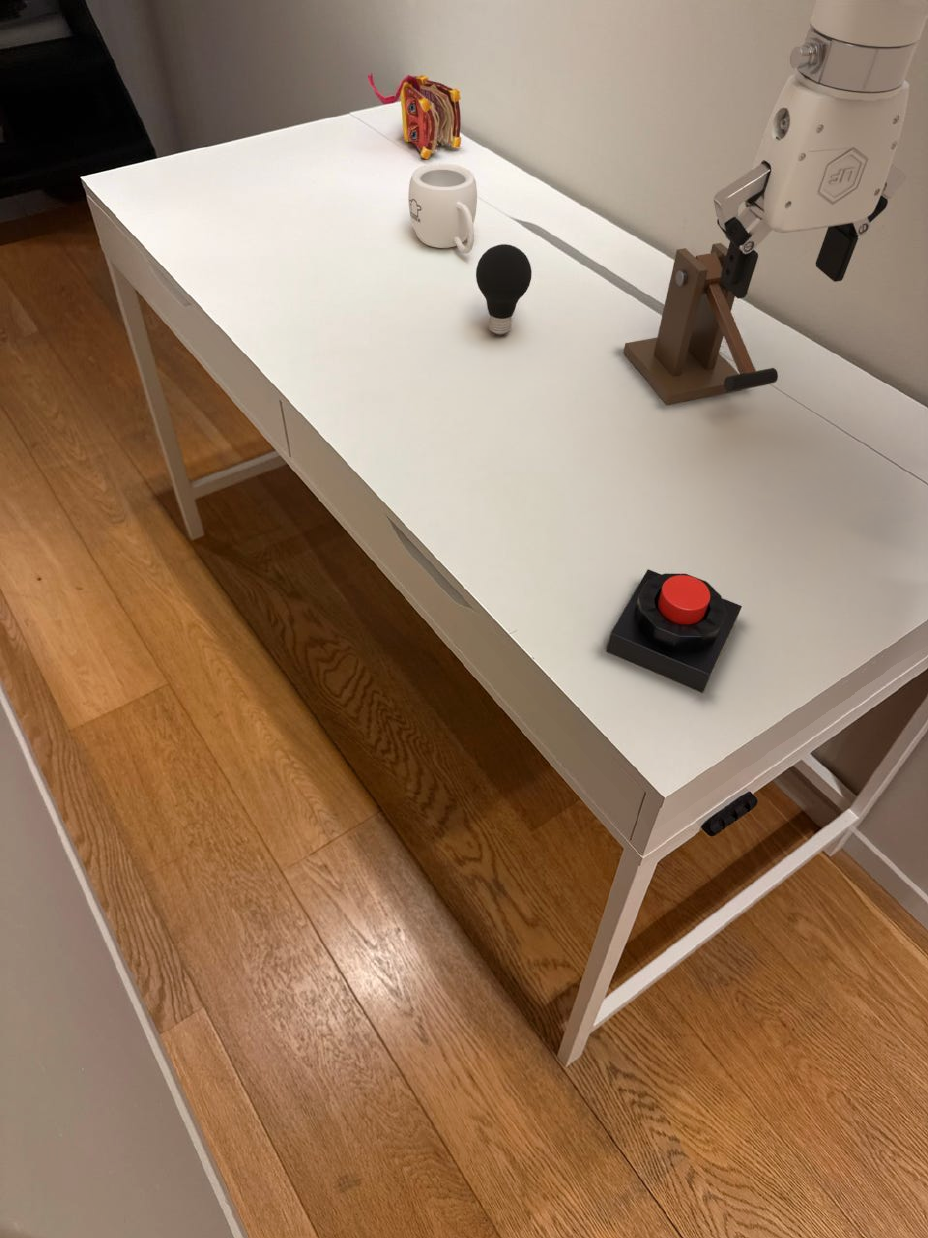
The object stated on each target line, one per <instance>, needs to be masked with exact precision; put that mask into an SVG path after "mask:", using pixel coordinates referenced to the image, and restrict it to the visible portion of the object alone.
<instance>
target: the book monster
mask: <svg viewBox="0 0 928 1238" xmlns="http://www.w3.org/2000/svg"><path fill="white" fill-rule="evenodd" d="M373 76H374V75H373V73H372V72H370V74H367V79H368V82H369V85H370V86H371V87H372V88H373V90H374V93H375V95H376V98H377V99H378V100H379V101H380V102H381V103H382V105H390V104H394V103H397V102H398V101H399V99H400V105H401V117H402V119H401V120H402V132H403V140H404V141H405V142H406V143H411V144H413V145H414V146H415V147H416V148H417V150H418V151H419V152H420V157H421V158H423V159H425V160H429V159H430V157H431V155H433V154H434V153H435V152H436V147H439V144H441V146H443V147H445V145H444V144H445V143H446V144H448V145H450V147H452V148H457V149H458V148H461V143H462V137H461V125H462V115H461V108H460V100H461V92H460V89H458V88H457V87H455V88H452V87H450V86H448V85H446V84H444V83H441V82H438V81H433V80H429V76H427V75H423V74H420V75H419V76H418V75H416V76H415V75H414V76H413V75H409V74H407V75H406V77H404V79H403V80H402V81H401V82H399V86H398V88H397V89H396V92H395V94H392V95H391V94H390V95H387V96H384V95H383V94H382V93H380V92H379V91H378V89H377V88H376V86H375V82H374V77H373ZM438 143H439V144H438Z"/></svg>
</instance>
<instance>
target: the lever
mask: <svg viewBox="0 0 928 1238" xmlns="http://www.w3.org/2000/svg"><path fill="white" fill-rule="evenodd" d="M694 257H695V258H696V259H697V260H698V261H700V262H701V263H702V264H703V265H704V266H705V267H706V268H707V269H708V272H707V276H706V280H705V284H704V288H703V292H702V294H706V295H707V298H708V300H709V302H710V305H711V307H712V309H713V312H714V314H715V317H716V319H717V321H718V324H719V326H720V328H721V331H722V333H723V336H724V337H723V339H724V341H725V343H726V345H727V347H728V350H729V352H730V354H731V356H732V359H733V361H734V364H735V366H736V369H737V372H738V373H739V375H733V376H728V377H726V378H725V380H724V387H725V390H726V391H727V393H732V392H737V391H743V390H746V389H751V388H757V387H762V386H766V385H773V384H775V383H777V382H778V379H779V378H778V377H779V374H778V370H777V369H776V368H775V367H770V368H764V369H760V370H756V368H755V366H754V365H755V364H754V363H753V361H752V358H751V356H750V354H749V351H748V349H747V347H746V344H745V342H744V340H743V339H744V338H743V337H742V335H741V333H740V330H739V328H738V325H737V323H736V321H735V318H734V316H733V314H732V310H731V311H730V309H729V307H728V304H727V302H726V300H725V297H724V295H723V293H722V290H721V288H720V285H721V273H722V269H723V268H722V266H721V263H720V261H719V259H718V256H717V254H716V253H711V252H710V253H704V254H698V255H695V256H694Z"/></svg>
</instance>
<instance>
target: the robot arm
mask: <svg viewBox="0 0 928 1238" xmlns="http://www.w3.org/2000/svg"><path fill="white" fill-rule="evenodd" d="M927 20H928V0H816V1H815V4H814V6H813V11H812V15H811V18H810V21H809V25H808V29H807V32H806V35H805V39H804V41H803V45H800V46H795V47H794V48H792V51H791V53H790V56H789V64H790V67H791V68H792V69H795V73H794V74H791V75H789V76H788V78H787V79H786V82H785V84H784V86H783V88H782V90H781V92H780V94H779V97H778V98H777V101H776V103H775V106H774V107H773V110H772V112H771V115H770V118H769V120H768V122H767V124H766V127H765V130H764V133H763V136H762V137H761V141H760V144H759V147H758V149H757V153H756V155H755V157H754V158H755V159H754V162H753V165H752V169H751V170H750V171H748V172H747V173H745V174H744V175H742V176H741V177H739V178H738V179H736V180H734V181H733V182H731V183H730V184H728V185H726V186H725V187H724V188H722V189H720V190H719V191H718V192H716V193H715V195H714V197H713V204H714V205H713V206H714V208H715V215H716V217H717V220H716V223H717V225H718V227H719V228H720V230H721V231H722V233H723V234H724V237H725V238H726V239H727V240H728V241H729V243H728V247H727V249H728V251H727V255H726V258H725V262H724V265H723V269H722V273H721V283H722V284H723V285H724V286H725V287H726V288H727V289H728V290H729V291H730V292H731V293H732V294H733V295H734V296H735V298H736V299H743V298H745V297H746V296H747V295H748V293H749V292H748V291H749V289H750V286H751V283H752V282H751V281H752V278H753V275H754V272H755V269H756V266H757V262H758V260H759V253H758V252H757V251H756V250H755V249H756V248H757V247H758V246H759V244H761V242H762V241H763V240H764V239H766V237H767V236H768V235H770V233H771V232H772V231H773V232H775V233H779V234H791V233H796V232H804V231H810V230H811V231H812V230H817V229H824V228H827V230H826V232H825V235H824V238H823V241H822V244H821V246H820V249H819V253H818V254H817V257H816V260H815V267H816V268H817V269H818V270H819V271H821V272H822V273H823V274H824V275H826V276H827V277H828V278H829V279H830V280H832V282H836V283H838V282H842V281H843V279H844V277H845V274H846V272H847V269H848V266H849V264H850V261H851V258H852V256H853V254H854V251H855V249H856V246H857V243H858V240H859V237H862V236H864V235H866V234H867V233H868V231H869V230H870V228H871V222H873V221H874V220H875V219H876V218H877V217H878V216H879V215H880V214H881V213H882V212H883V211H884V210H885V209H886V208H887V206H888V203H889V201H888V200H889V199H891V198H892V197H893V196H894V195H895V194H896V192H897V191H898V190H899V188H900V187H901V186H902V185H903V183H904V182H905V180H906V178H907V177H906V173H904V172H903V171H902V170H900V169H899V168H898V167H896V166H894V165H893V161H894V158H895V155H896V152H897V148H898V145H899V141H900V137H901V134H902V130H903V125H904V121H905V117H906V112H907V107H908V100H909V95H910V94H909V93H910V83H909V82H908V81H907V80H906V76H907V74H908V71H909V68H910V66H911V62H912V60H913V57H914V55H915V52H916V49H917V47H918V44H919V41H920V39H921V37H922V34H923V30H924V28H925V25H926V23H927ZM743 203H744V207H745V208H744V209H743V210H742V211H741V212H740V213H739V207H740V206H741V205H742V204H743ZM756 219H758V220H759V221H758V222H757V223H756V224H755V225H754V226H753V228H752V229H751V230H750V231H749V232H748V230H747V229H748V228H749V227H750V226H751V225H752V224H753V223H754V222H755V221H756Z"/></svg>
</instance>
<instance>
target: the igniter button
mask: <svg viewBox="0 0 928 1238" xmlns="http://www.w3.org/2000/svg"><path fill="white" fill-rule="evenodd" d="M691 576H692V575H691ZM691 576H686V575H678V576H673V577H671V578H669V579H668V580H666V582H665V583H664V584H663V587H662V590H661V594H660V597H659V600H658V607H659V610H660V612H661V613H662V615H663V616H664V617H665V618H667V619H668V620H670V621H672V622H674V623H677V624H682V625H690V624H694V623H697V622H698V621H700V620H701V619H702V618H703V616H704V614H705V612H706V609H707V606H708V603H709V601H710V592H709V590H708V588H707V586H706V585H705V584H704V583H703V582H701V581H700V580H698V579H699V578H698V579H696V578H697V577H696V578H694V577H695V576H693V577H691Z"/></svg>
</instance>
